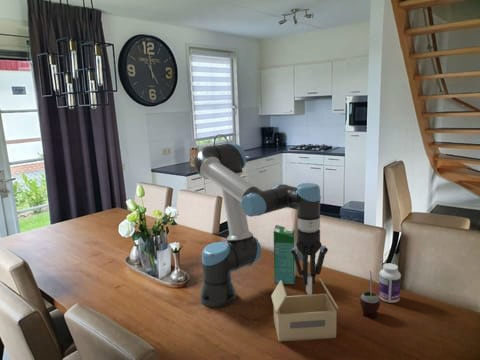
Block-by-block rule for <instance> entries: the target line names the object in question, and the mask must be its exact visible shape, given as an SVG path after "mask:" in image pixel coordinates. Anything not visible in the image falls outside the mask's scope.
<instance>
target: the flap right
mask: <svg viewBox="0 0 480 360" xmlns="http://www.w3.org/2000/svg"><path fill="white" fill-rule="evenodd" d="M318 280H319V281H320V283H321V285H322V286H323V288H324V291H326V294H327V295H328V297H329V299H330V301H331V303H332V304H333V306H334V307H335V309H336V310H340V309H339V308H340V307H339V306H338V304H337V303H336V301H335V299H334V298H333V296H332V294H331V292H330V291H329V289H328V288H327V287H326V284H325V283H324V282H323V280H322V278H321V277H318Z"/></svg>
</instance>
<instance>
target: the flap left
mask: <svg viewBox="0 0 480 360" xmlns="http://www.w3.org/2000/svg"><path fill="white" fill-rule="evenodd" d="M287 294H288V293H287V291H286V289H285V286H284V284H283V283H282V280H280V282H279V283H277V285H276V287H275V289H274V290H273V292H272V293H271V295H270V297H271V300H272V301H271V302H272V305H273V310H274V309H275V313H277V312H278V310H279V309H280V307H281V305H282V303H283V302H284V300H285V298H286V297H287V296H288V295H287Z"/></svg>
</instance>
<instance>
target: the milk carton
mask: <svg viewBox="0 0 480 360" xmlns="http://www.w3.org/2000/svg"><path fill="white" fill-rule="evenodd" d="M295 246H296V230H295V229H294V228H293V229H292V228H290V227H288V226H287V227H285V226H282V225H279V224H276V225H275V226H274V228H273V261H274V262H273V268H274V269H273V271H274V284H278V283H279V282H280V280H282V283H283V285H284V284H285V285H295V283H296V274H297V273H296V271H297V270H296V269H297V267H296V263H295V259H294V256H293V254H292V253H291V251H290V248H294V247H295Z"/></svg>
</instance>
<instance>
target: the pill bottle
mask: <svg viewBox="0 0 480 360" xmlns="http://www.w3.org/2000/svg"><path fill="white" fill-rule="evenodd" d="M401 281H402V274H401V273H400V271H399V267H398V265H397V264H394V263H390V262H389V263H384V264H383V266H382V269H381V270H380V271H379V281H378V282H379V283H378V297H379V300H380V299H381V300H382V301H383V302H385V303H391V304H394V303H397V302H399V301H400V300H401V285H402V283H401ZM381 300H380V301H381Z"/></svg>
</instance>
